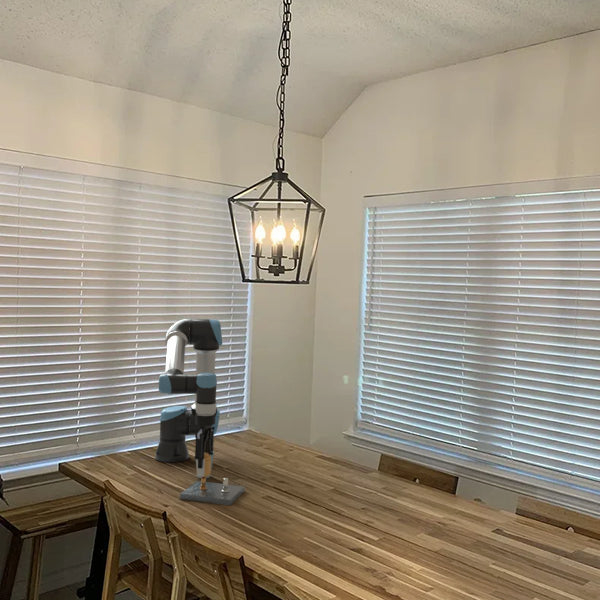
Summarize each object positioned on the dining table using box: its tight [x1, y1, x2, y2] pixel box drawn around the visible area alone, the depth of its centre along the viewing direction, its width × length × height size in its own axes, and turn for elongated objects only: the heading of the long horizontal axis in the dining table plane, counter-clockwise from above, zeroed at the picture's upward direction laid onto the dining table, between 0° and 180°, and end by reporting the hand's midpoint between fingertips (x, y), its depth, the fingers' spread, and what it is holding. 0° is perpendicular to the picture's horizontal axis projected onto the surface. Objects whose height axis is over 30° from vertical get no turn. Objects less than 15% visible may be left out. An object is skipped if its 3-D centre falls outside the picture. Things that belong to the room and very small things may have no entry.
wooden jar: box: [197, 453, 212, 477], centre depth 241 cm, size 5×5×8 cm
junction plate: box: [179, 476, 245, 506], centre depth 240 cm, size 16×20×7 cm
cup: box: [195, 450, 215, 479], centre depth 263 cm, size 8×8×10 cm
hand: (203, 473), depth 241 cm, fingers closed on wooden jar, 5 cm apart
